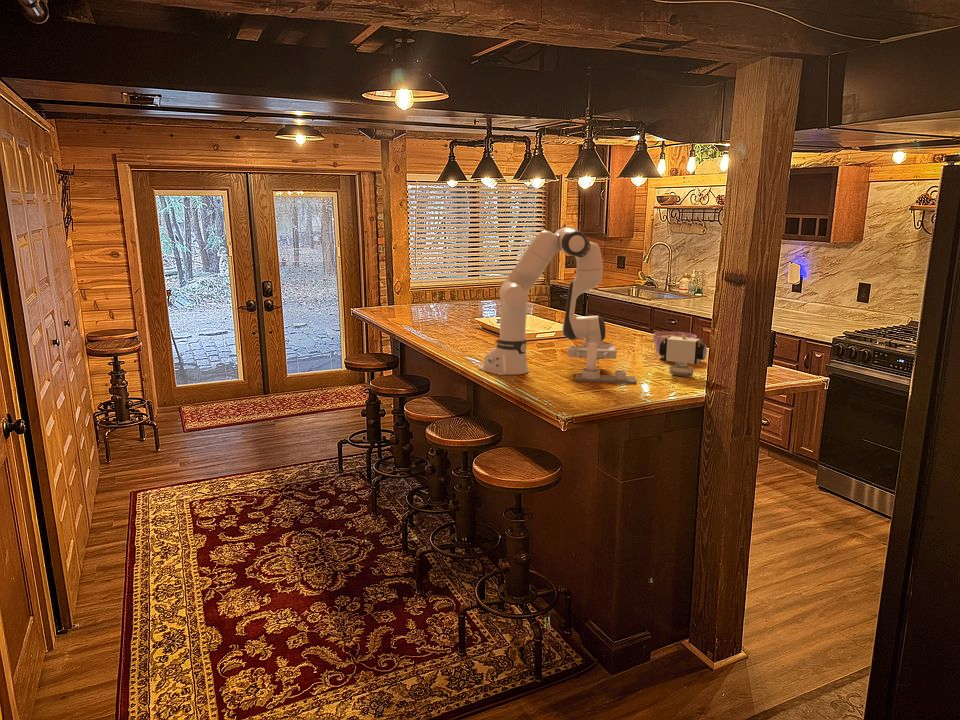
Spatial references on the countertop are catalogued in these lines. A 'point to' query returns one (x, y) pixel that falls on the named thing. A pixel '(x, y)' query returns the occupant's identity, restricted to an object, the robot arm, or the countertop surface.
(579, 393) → the countertop surface
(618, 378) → the plate
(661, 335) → the clear bowl
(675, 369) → the ball valve
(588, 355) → the pvc pipe
